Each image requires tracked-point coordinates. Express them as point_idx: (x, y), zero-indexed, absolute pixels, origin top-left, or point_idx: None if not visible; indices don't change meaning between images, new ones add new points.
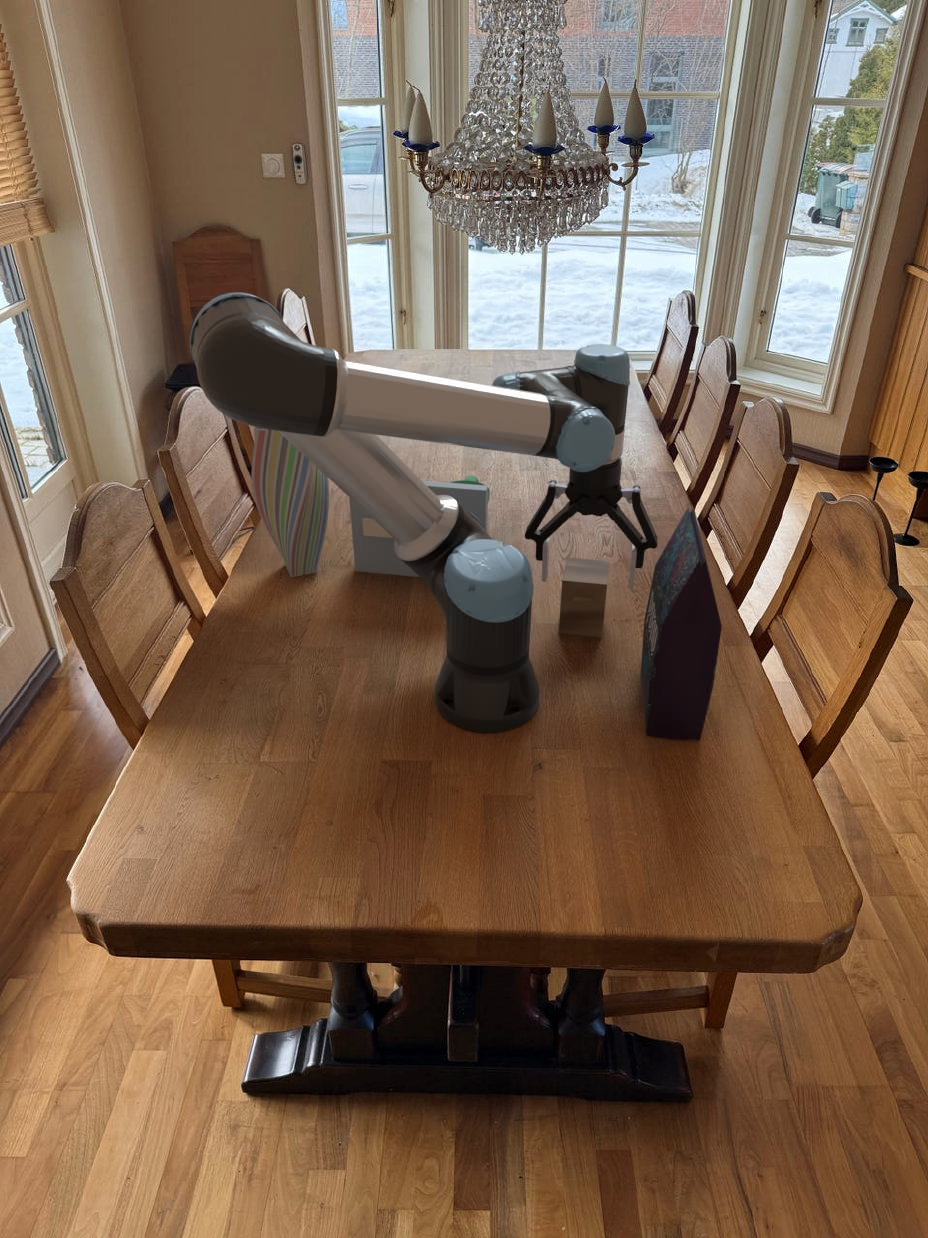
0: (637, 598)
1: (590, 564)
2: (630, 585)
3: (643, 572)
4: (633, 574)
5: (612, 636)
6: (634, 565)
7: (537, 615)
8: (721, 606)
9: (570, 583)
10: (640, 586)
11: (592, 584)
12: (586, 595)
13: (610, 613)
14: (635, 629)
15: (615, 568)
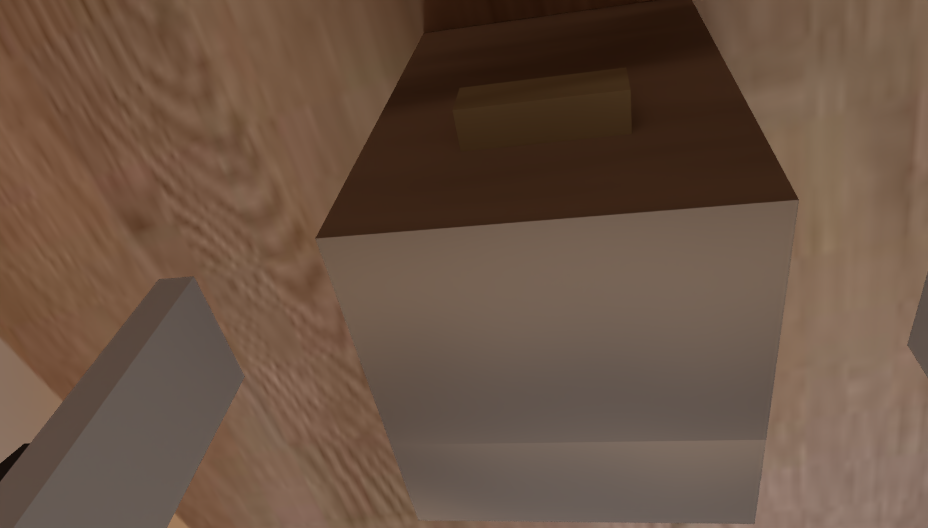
0: (365, 380)
1: (546, 472)
2: (166, 296)
3: (398, 514)
4: (90, 374)
5: (373, 67)
6: (30, 457)
7: (833, 148)
8: (68, 391)
9: (690, 193)
10: (380, 447)
11: (457, 218)
12: (517, 150)
13: None
14: (288, 165)
15: (501, 522)
